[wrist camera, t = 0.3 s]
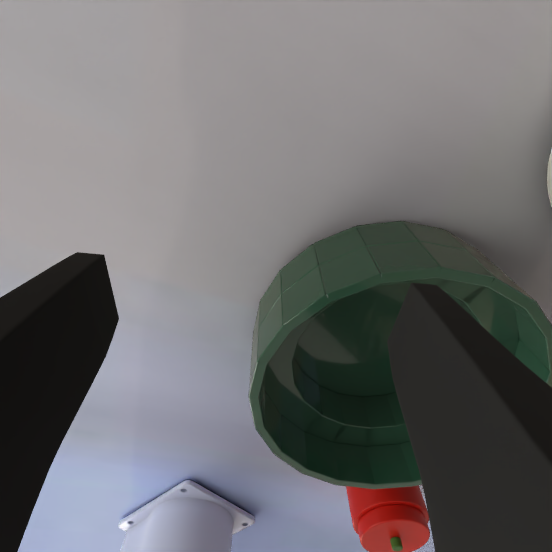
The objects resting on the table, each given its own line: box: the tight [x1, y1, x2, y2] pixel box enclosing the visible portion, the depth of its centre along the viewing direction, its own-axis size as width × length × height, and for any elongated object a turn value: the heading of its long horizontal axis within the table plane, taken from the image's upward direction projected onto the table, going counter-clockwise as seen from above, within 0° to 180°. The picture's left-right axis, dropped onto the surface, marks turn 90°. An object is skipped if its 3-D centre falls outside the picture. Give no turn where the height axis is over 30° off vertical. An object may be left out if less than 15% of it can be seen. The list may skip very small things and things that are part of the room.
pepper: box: [346, 485, 430, 552], centre depth 27 cm, size 5×5×6 cm
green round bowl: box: [249, 221, 552, 489], centre depth 20 cm, size 15×15×6 cm
